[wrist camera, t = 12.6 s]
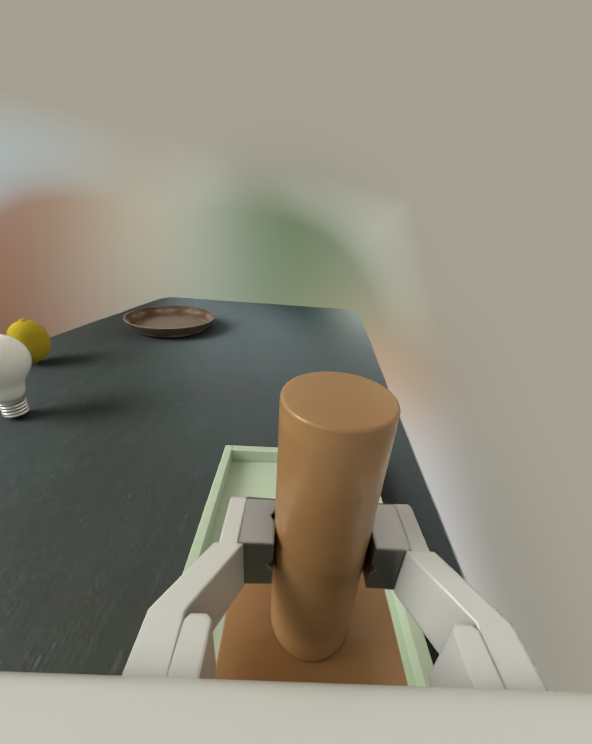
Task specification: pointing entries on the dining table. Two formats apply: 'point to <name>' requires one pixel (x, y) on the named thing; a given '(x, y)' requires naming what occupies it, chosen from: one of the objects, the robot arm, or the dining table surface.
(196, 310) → the plant saucer
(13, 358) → the lightbulb
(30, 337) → the lemon
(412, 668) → the tray
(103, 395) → the dining table surface
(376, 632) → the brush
